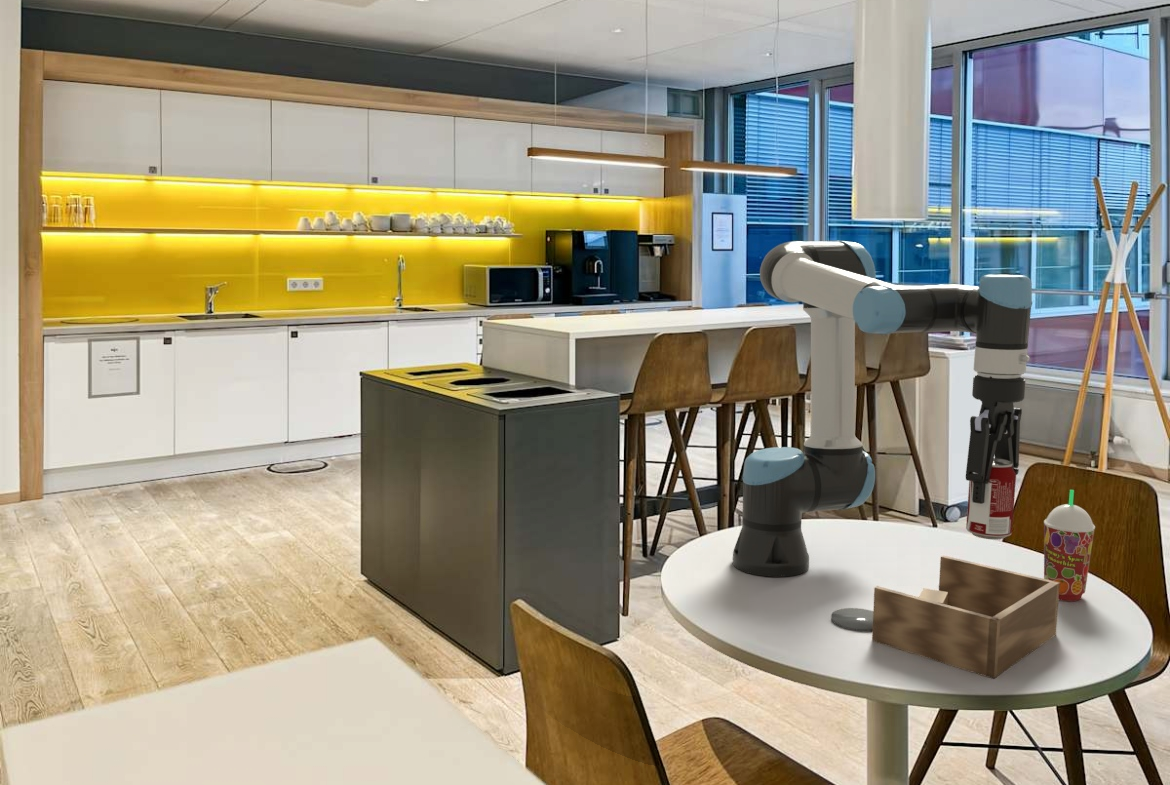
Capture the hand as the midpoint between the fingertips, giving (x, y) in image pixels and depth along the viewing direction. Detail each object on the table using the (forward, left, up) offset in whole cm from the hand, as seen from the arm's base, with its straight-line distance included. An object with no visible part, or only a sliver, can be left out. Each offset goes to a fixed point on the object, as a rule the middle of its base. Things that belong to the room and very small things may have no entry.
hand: (989, 517), depth 156 cm
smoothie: (+1, +32, -21) cm, 38 cm away
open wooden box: (-3, 0, -21) cm, 21 cm away
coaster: (-19, -6, -21) cm, 29 cm away
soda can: (0, 0, -3) cm, 3 cm away
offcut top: (-9, 0, -18) cm, 20 cm away
